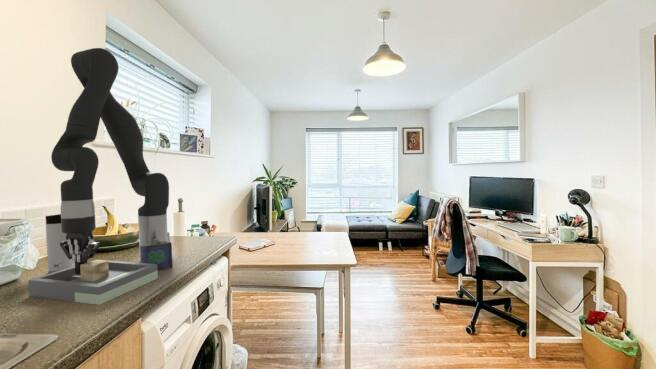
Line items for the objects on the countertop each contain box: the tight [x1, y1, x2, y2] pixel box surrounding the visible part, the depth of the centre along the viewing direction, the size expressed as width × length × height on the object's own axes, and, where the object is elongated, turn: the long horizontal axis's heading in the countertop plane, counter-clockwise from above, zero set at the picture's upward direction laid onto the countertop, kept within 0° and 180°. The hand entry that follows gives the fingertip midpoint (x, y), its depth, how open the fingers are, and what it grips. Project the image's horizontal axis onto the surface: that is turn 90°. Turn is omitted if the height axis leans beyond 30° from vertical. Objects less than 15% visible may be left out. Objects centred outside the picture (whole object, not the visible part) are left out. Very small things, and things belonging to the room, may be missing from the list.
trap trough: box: [27, 259, 159, 306], centre depth 82 cm, size 18×24×4 cm
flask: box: [139, 238, 173, 271], centre depth 97 cm, size 9×3×11 cm, turn 121°
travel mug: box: [45, 213, 75, 274], centre depth 96 cm, size 6×7×20 cm
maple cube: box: [80, 259, 109, 281], centre depth 82 cm, size 4×4×4 cm
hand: (81, 273), depth 84 cm, fingers closed
